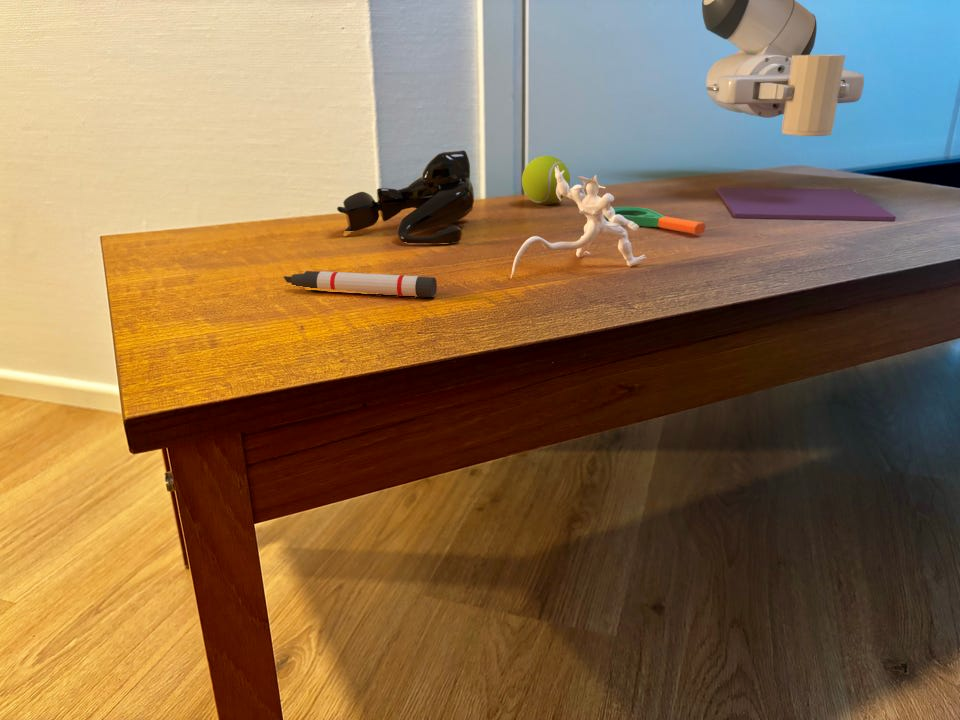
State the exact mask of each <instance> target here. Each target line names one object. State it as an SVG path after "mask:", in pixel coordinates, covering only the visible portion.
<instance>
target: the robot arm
mask: <svg viewBox="0 0 960 720" xmlns="http://www.w3.org/2000/svg"><path fill="white" fill-rule="evenodd" d="M701 13H702V19H703V23H704V27H705V29H706V30H707V31H709V32H710V33H712V34H714V35H716V36H718V37H720V38H721V39H724V40H726V41H728V42H730V43H731V44H732V45H734V46H735V47H737V48H738V50H737V51H736V52H734V53H733V54H731V55H729V56H725V57H723V58H721V59H719V60H717V61H716V62H715V63H713V64H712V66H710V68H709V70H708V72H707V73H706V74H707V75H706V79H705V86H706V88H705V89H706V92H707V94H708V96H709V98H710V99H711V100H712V102H713V103H714V104H715V105H716V106H718V107H720V108H722V109H724V110H727V111H730V112H734V113H738V114H739V113H740V114H746V115H750V116H754V117H759V118H766V119H767V118H769V119H770V118H775V117H776V118H777V117H778V116H781V115H784V109H785V102H786V99H792V98H793V91H794V85H788V81H789V74H790V67H791V60H792V55H811V53H812V51H813V49H814V47H815V44H816V43H815V42H816V37H817V29H818V25H817V18H816V15H815V14H814V13H813V12H811V11H809V10H808V9H807V8H806V7H805V6H803V5H802V4H801V3H800V2H798V1H796V0H702V1H701ZM864 85H865V76H864V75H863V74H862V73H861V72H856V71H852V70H847V69H843V72H842V78H841V84H840V90H839V96H838V102H837V104H850V103H857V102H858V101H859V100H861V98H862V96H863V95H862V94H863V90H864Z"/></svg>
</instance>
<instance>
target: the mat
mask: <svg viewBox="0 0 960 720" xmlns="http://www.w3.org/2000/svg"><path fill="white" fill-rule="evenodd" d="M716 192H717V195H718V196H719V198H721V200H722V201H723V203H724V204H725V206H726V208H727V209H728V210H729V212H730V213H731V215H732V216H733V218H735V219H769V220H770V219H771V220H819V221H824V220H825V221H866V222H867V221H871V222H872V221H873V222H874V221H875V222H876V221H877V222H895V221H896V218H897V217H896V215H895V214H893V213H891V212H889V211H888V210H886V209H884V208H882V207H881V206H880V205H878V204H876V203H874V202H873V201H872V200H871V199H870V200H869V199H868V198H867V197H865V196H863V195H861V194H860V193H859V192H857V191H855V190H853V189H852V188H797V187H796V188H795V187H794V188H791V187H790V188H788V187H784V188H783V187H719V186H718V187H716Z"/></svg>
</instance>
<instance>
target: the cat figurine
mask: <svg viewBox="0 0 960 720" xmlns="http://www.w3.org/2000/svg"><path fill="white" fill-rule="evenodd" d="M474 194H475V193H474V186H473V184H472V181H471V164H470V159H469V156H468V153H467V152H466V151H465V150H457V151H456V150H455V151H444V152H440V153H438V154H436V155H435V156H434V157H433V158H432V159H431V160H429V162H428V163H427V165H426V166H425V167H424V169H423V171H422V174H421V176H420V177H418V178H416V179H414V181H412V182H411V183H410V184H408V186H406V187H403V188H400V189H396V188H389V187H379V188H377V189H376V199H377V201H375V199H374V198H373V196H372V195H371V194H369V193H368V192H365V191H358V192H356V193H354V194H351V195H350V196H347V198H345V199H344V200H343V206H337V208H336V210H337V211H338V212H339V213H340V214H345V219H346V223H347V227H346V228H345V229H344V230H345V231H354V232H357V231H360V230H364V229H368V228H370V227H373V226H374V225H376V224H377V222H378V220H379V219H380V217H381V219H382V220H381V221H383V222H387V221H388V220H390V219H392V218H394V217H396V216H397V215H398V214H400V213H401V212H402V211H404V210H407V209H413V211H410V213H408V214H407V215H406V216H404V217H403V218H402V220H401V221H400V222H399V225H398V227H397V236H398V239H399V241H401V243H403V242H407V243H432V244H437V243H452V242H457V243H459V242H460V241H461V239H462V236H463V231H462V228H461V227H460V226H458V225H456V224H453V223H455V222H459V221H460V220H462V219H463V218H465V217H467V216H468V215H469V214H470V213H471V212H472V211H473V208H474V203H475V195H474ZM450 224H451V225H450ZM447 225H448V226H447ZM441 226H447V227H445V228H443V229H439V230H437V231H436V232H435V233H434V234H433V235H426V236H425V235H423V236H421V235H419V236H417V235H416V236H414V235H412V234H414V233H417V232H422V231H425V230H430V229H434V228H438V227H441Z"/></svg>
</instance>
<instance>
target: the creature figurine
mask: <svg viewBox="0 0 960 720" xmlns="http://www.w3.org/2000/svg"><path fill="white" fill-rule="evenodd" d="M557 169H558V170H557ZM555 173H556V174H555V177H556V179H557V188H556V194H557V197H558V199H559V201H560V202H562V199H561V195H563V196H564V197H565V198H566V197H567V198H568V199H569V200H573V201H574V202H575V203H576V205H577V207H578V209H579V210H578V214H580V215H584V216H585V218H586V223H585V224H584V226H583V232H584V233H583V235H581V237H580V238H579V239H578V240H575V241H556V242H549V241H547V240H546V239H544V238H543V237H540V236H538V235H533V236H531V237H529V238H527V239H526V240H525V241H524V243H522V245H521V246H520V248H519V250H518V252H517V253H516V255H515V257H514V260H513V263H512V268H511V275H510V279H512V278H513V277H514V275H515V273H516V270H517V267H518V264H519V262H520V260H521V258H522V257H523V254H524V253H525V252H526V251H527V250H528V249H529V247H531V246H532V245H533V244H536V243H537V242H538V243H540V244H541V245H542V246H543V247H544V248H545V249H546V250H548V251H550V252H554V251H573V250H574V251H575V250H576V253H575V254H576V257H577V258H582V257H584V256H585V255H591V252H589V251H587V250H588V249H589V248H590V247H591V244H592V242H593V241H594V240H595V239H596V237H598V235H600V236H607V237H609V238H612V239H614V240H616V239H617V240H618V239H619V240H618V243H617V249H618V251H619V252H620V253H621V255H622V256H623V260H625V262H626V266H627V267H633V266H635V265H637V264H639V263H641V262H642V261H644V260H646V259H647V257H646V254H642V255H640V256H636V257H635V256H634V255H633V254H634V253H633V252H632V251H633V250H632V249H633V247H632V243H631V242H630V241H629V233H628V231H627V230H626V229H625V228H624V227H627V228H629V229H631V230H632V231H638V230H639V228H640V226H638V225H637V224H635V223H634V222H632V221H630V220H628V219H626V218H624V217H623V216H622V215H620V214H617V215H615V210H614V209H613V206H612V205H611V203H613V202H614V201H615V197H614V195H613V194H611V193H610V192H606V193H605V194H604V195H603V196H599V195H598V193H599V189H606V187H607V186H602V185H600V184H599V182H598V177H597V174H594V176H593V177H592V178H587V177H584V176H582V175H581V176H580V175H578V176H577V178H578V179H579V180H580V181H581V182H582V183H583V185H582V184H575V185H573V186H572V187H570V185H568V183H567V182H566V181H565V180H564V178H563V175H562V174H563V173H564V170H563V171H562V172H560V171H559V167H558V165H557V168H556V167H555ZM585 191H586V192H585ZM605 217H606V218H607V219H608V220H609V221H610V222H608V221H606V220H605Z"/></svg>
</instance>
